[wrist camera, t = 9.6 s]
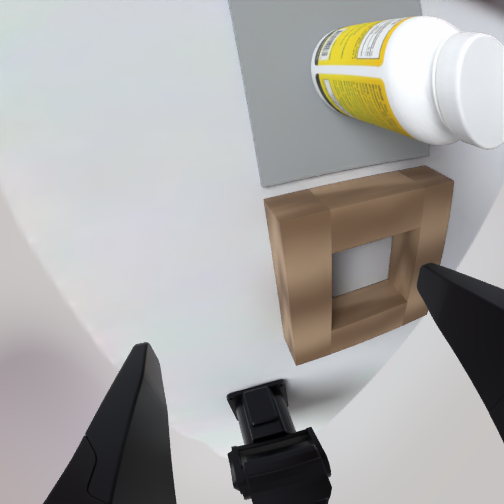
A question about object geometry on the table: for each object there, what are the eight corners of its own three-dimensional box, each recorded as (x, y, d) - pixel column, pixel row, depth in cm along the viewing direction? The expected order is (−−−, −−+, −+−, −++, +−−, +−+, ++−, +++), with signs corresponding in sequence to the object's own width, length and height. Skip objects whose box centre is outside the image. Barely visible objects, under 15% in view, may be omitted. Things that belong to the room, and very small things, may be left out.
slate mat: (426, 154, 21) (429, 155, 21) (261, 185, 20) (262, 187, 20) (413, -13, 14) (417, -13, 13) (223, -24, 12) (224, -26, 12)
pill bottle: (389, 116, 19) (518, 169, 10) (309, 117, 18) (437, 172, 9) (387, 33, 15) (527, 40, 6) (304, 23, 14) (439, -7, 5)
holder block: (408, 293, 30) (426, 314, 27) (284, 337, 28) (296, 365, 26) (425, 165, 22) (454, 181, 19) (263, 199, 21) (279, 222, 18)
